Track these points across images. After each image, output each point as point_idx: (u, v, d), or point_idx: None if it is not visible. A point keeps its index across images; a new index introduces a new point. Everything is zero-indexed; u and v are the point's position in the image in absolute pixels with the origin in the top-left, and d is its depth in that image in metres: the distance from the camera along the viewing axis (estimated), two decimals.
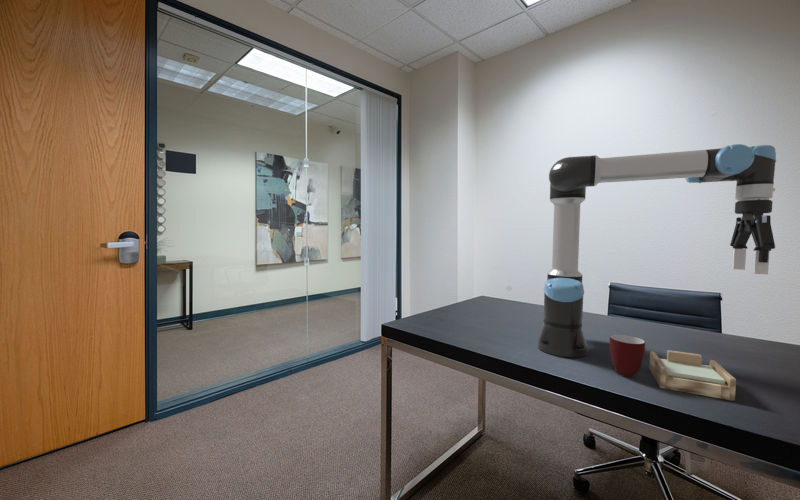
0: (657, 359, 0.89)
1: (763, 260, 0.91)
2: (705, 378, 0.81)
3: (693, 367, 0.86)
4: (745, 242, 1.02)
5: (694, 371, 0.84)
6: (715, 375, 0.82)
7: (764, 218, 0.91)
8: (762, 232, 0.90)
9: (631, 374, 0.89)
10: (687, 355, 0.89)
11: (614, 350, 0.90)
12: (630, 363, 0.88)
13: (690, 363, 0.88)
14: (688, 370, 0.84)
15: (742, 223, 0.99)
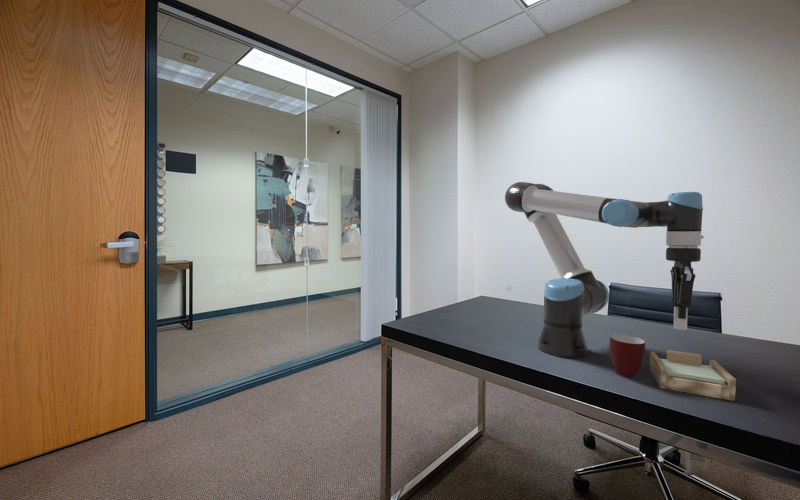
0: (657, 359, 0.89)
1: (681, 316, 0.93)
2: (705, 378, 0.81)
3: (693, 367, 0.86)
4: None
5: (694, 371, 0.84)
6: (715, 375, 0.82)
7: (688, 277, 0.88)
8: (683, 291, 0.90)
9: (631, 374, 0.89)
10: (687, 355, 0.89)
11: (614, 350, 0.90)
12: (630, 363, 0.88)
13: (690, 363, 0.88)
14: (688, 370, 0.84)
15: (673, 269, 0.95)
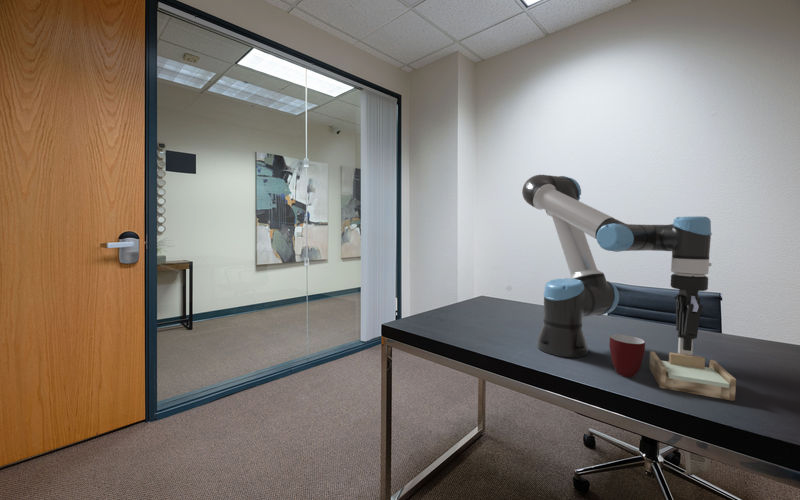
0: (657, 359, 0.89)
1: (687, 348, 0.87)
2: (709, 381, 0.79)
3: (696, 370, 0.85)
4: None
5: (697, 374, 0.82)
6: (718, 378, 0.80)
7: (695, 308, 0.83)
8: (689, 322, 0.85)
9: (631, 374, 0.89)
10: (690, 357, 0.87)
11: (614, 350, 0.90)
12: (630, 363, 0.88)
13: (693, 366, 0.87)
14: (691, 373, 0.83)
15: (678, 297, 0.90)
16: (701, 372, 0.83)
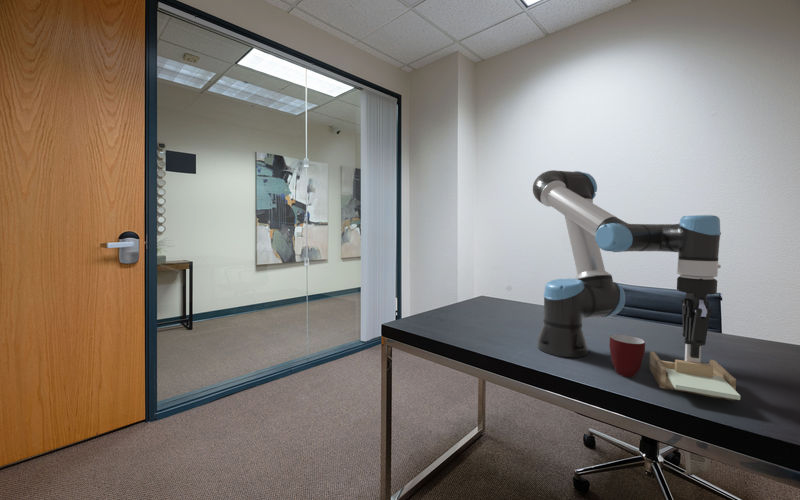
0: (657, 359, 0.89)
1: (694, 355, 0.82)
2: (718, 393, 0.74)
3: (704, 379, 0.79)
4: None
5: (706, 384, 0.77)
6: (728, 388, 0.75)
7: (704, 313, 0.78)
8: (697, 328, 0.79)
9: (631, 374, 0.89)
10: (697, 365, 0.81)
11: (614, 350, 0.90)
12: (630, 363, 0.88)
13: (700, 374, 0.81)
14: (699, 383, 0.77)
15: (685, 301, 0.84)
16: (709, 381, 0.78)
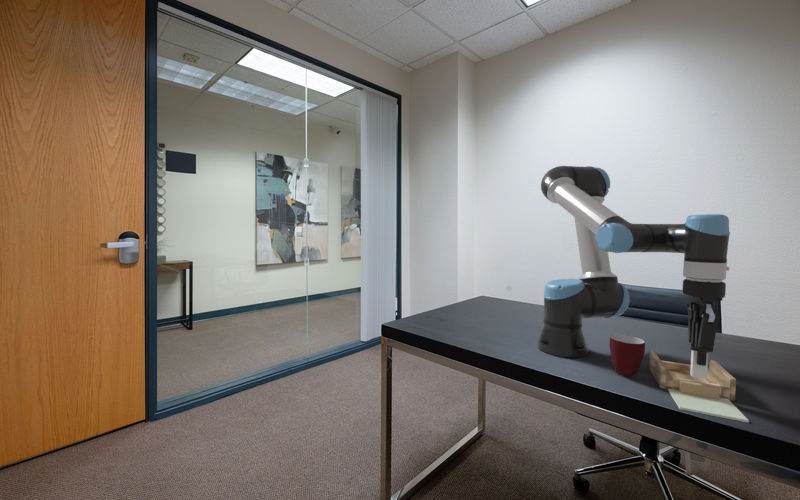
0: (657, 359, 0.89)
1: (701, 363, 0.78)
2: (725, 417, 0.70)
3: (710, 401, 0.76)
4: None
5: (712, 407, 0.73)
6: (736, 412, 0.71)
7: (711, 319, 0.73)
8: (704, 334, 0.75)
9: (631, 374, 0.89)
10: (702, 387, 0.78)
11: (614, 350, 0.90)
12: (630, 363, 0.88)
13: (706, 396, 0.78)
14: (705, 406, 0.74)
15: (691, 305, 0.80)
16: (716, 404, 0.75)
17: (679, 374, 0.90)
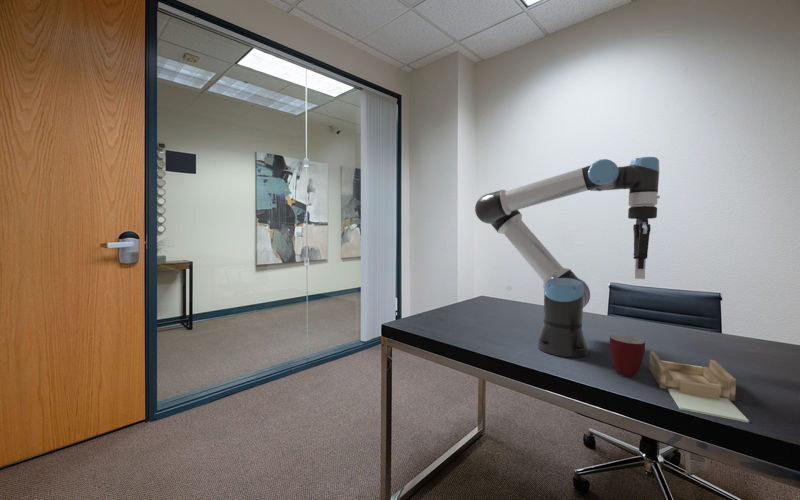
0: (657, 359, 0.89)
1: (640, 267, 1.06)
2: (725, 417, 0.70)
3: (710, 401, 0.76)
4: None
5: (712, 407, 0.73)
6: (736, 412, 0.71)
7: (645, 231, 1.02)
8: (640, 243, 1.04)
9: (631, 374, 0.89)
10: (702, 387, 0.78)
11: (614, 350, 0.90)
12: (630, 363, 0.88)
13: (706, 396, 0.78)
14: (705, 406, 0.74)
15: (634, 226, 1.08)
16: (716, 404, 0.75)
17: (679, 374, 0.90)
